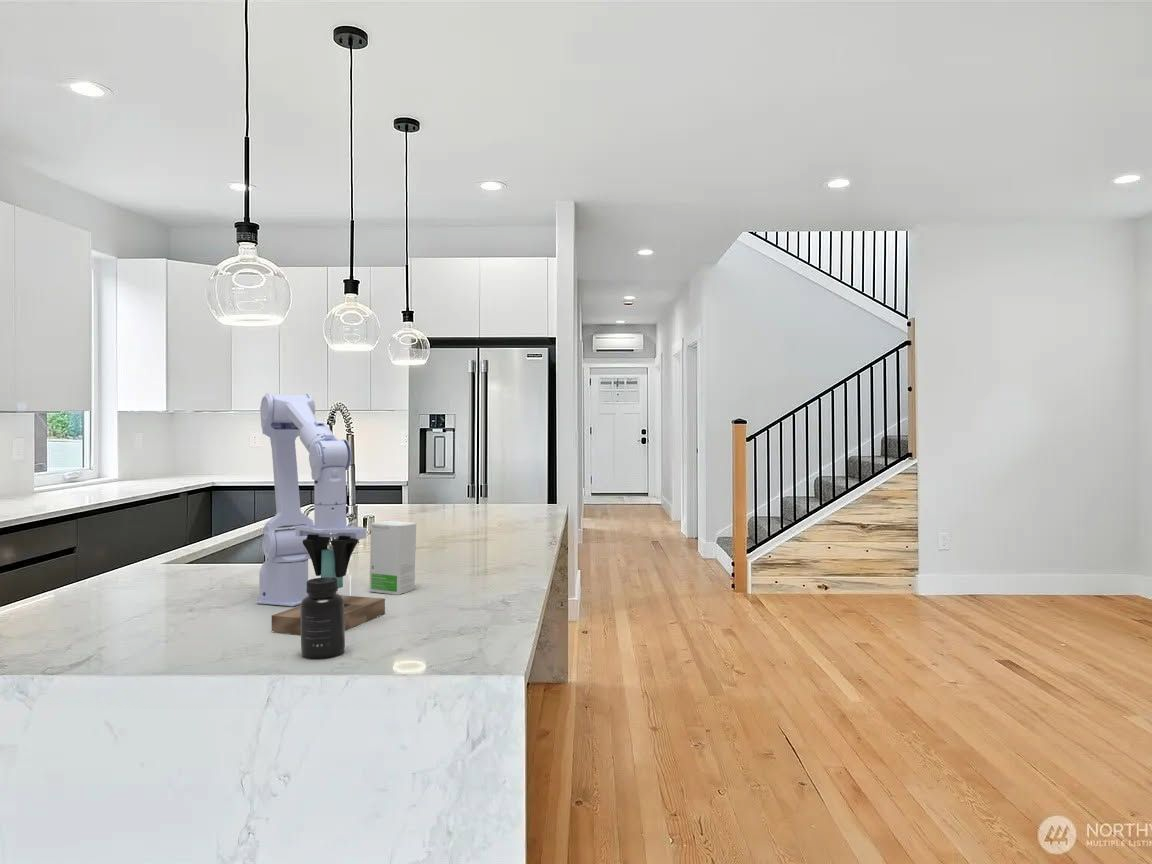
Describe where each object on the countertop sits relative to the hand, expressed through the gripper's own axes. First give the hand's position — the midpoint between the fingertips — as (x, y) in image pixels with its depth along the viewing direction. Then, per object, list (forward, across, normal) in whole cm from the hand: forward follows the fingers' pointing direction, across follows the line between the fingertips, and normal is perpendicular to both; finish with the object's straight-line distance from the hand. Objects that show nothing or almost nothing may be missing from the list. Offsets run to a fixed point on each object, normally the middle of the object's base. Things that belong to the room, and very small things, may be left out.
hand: (330, 575), depth 143 cm
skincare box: (+9, -4, +28) cm, 30 cm away
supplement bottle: (+9, +11, -17) cm, 22 cm away
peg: (+2, 0, 0) cm, 2 cm away
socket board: (+9, 0, 0) cm, 9 cm away
